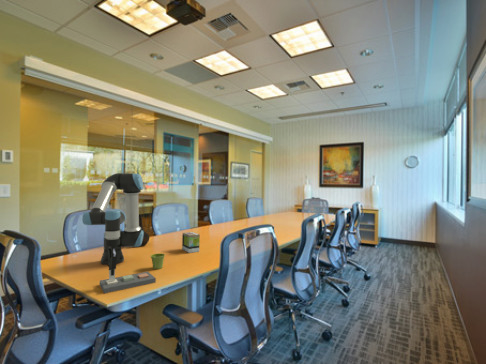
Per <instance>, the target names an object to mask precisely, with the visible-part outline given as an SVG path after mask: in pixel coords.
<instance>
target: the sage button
mask: <svg viewBox="0 0 486 364" xmlns="http://www.w3.org/2000/svg"><path fill="white" fill-rule="evenodd" d="M122 280H123V281H124V282H126V281H131V280H134V277H133V276H132V274H128V275H123V276H122Z"/></svg>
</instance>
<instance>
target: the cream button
mask: <svg viewBox="0 0 486 364" xmlns="http://www.w3.org/2000/svg"><path fill="white" fill-rule="evenodd" d="M116 283H118V281H117V280H116V279H115V281H110V282H109V280H107V281H106V284H107V285H111V284H116Z"/></svg>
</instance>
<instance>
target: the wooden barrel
mask: <svg viewBox="0 0 486 364" xmlns="http://www.w3.org/2000/svg"><path fill="white" fill-rule="evenodd" d="M139 226H140V227H141V231H144V226H143V215H142V214H139ZM149 241H150V235H149V233H147V232H146V231H144V235H143V241H142V244H141V246H140V247H143V246H146V245H147V244H148V243H149Z"/></svg>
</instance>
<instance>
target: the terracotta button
mask: <svg viewBox="0 0 486 364" xmlns="http://www.w3.org/2000/svg"><path fill="white" fill-rule="evenodd" d="M147 277H149V275H148V274H147V273H144V274H139V275H138V278H139V279H141V278H147Z"/></svg>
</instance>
